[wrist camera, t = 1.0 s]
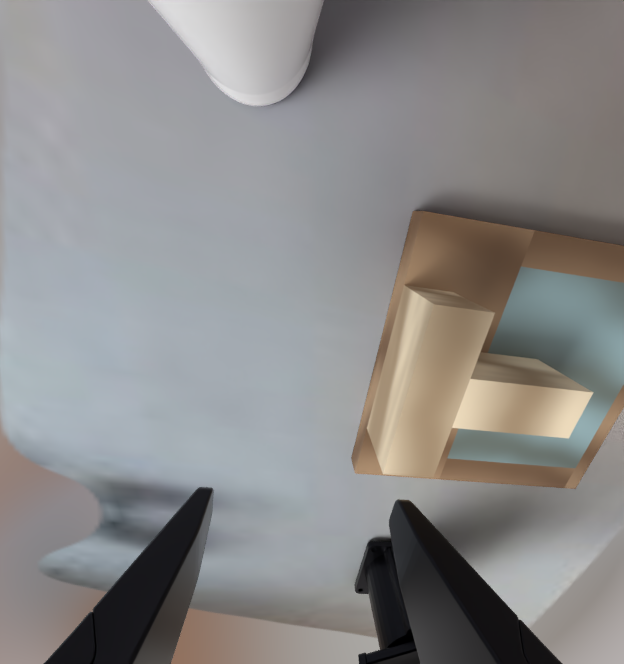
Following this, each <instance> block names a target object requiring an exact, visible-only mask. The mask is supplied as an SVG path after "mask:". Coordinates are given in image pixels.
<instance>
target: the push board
mask: <svg viewBox="0 0 624 664" xmlns="http://www.w3.org/2000/svg"><path fill="white" fill-rule="evenodd" d="M404 285H407V286H413V287H420V288H427V289H434V290H441V291H448V292H454V293H456V294H458V295H460V296H462V297H464V298H466V299H468V300H470V301H472V302H474V303H476V304H478V305H480V306H482V307H484V308H486V309H488V310H490V311H492V312H494V313H495V314H494V317H493V320H492V322H491V325H490V328H489V330H488V333H487V336H486V338H485V341H484V344H483V346H482V349H481V352H483V353H491V354H499V355H507V356H515V357H524V358H532V359H538V360H540V361H541V362H543V363H545V364H546V365H548V366H550V367H551V368H553V369H555V370H557V371H558V372H560V373H562V374H563V375H565V376H567V377H568V378H570V379H572V380H573V381H575V382H577V383H578V384H580V385H582V386H583V387H585V388H587V389H588V390H590V391H592V392H594V393H593V394H592V396H591V398H590V400H589V402H588V404H587V405H586V407H585V409H584V411H583V413H582V415H581V417H580V418H579V420H578V422H577V424H576V426H575V428H574V429H573V431H572V433H571V435H570V437H569V438H558V437H547V436H536V435H525V434H514V433H503V432H492V431H481V430H470V429H459V428H452V429H451V432H450V434H449V437H448V440H447V442H446V445H445V448H444V450H443V453H442V456H441V458H440V461H439V464H438V466H437V469H436V472H435V474H434V477H433V478H429V477H415V476H401V475H387V474H383V473H382V470H381V467H380V464H379V461H378V459H377V456H376V453H375V450H374V447H373V444H372V442H371V439H370V436H369V433H368V430H367V426H368V422H369V418H370V414H371V410H372V407H373V403H374V399H375V395H376V391H377V387H378V384H379V380H380V376H381V372H382V368H383V364H384V360H385V357H386V353H387V349H388V345H389V341H390V337H391V334H392V330H393V326H394V322H395V318H396V314H397V311H398V307H399V303H400V299H401V295H402V291H403V287H404ZM623 408H624V246H622V245H617V244H611V243H605V242H599V241H594V240H588V239H582V238H576V237H570V236H565V235H559V234H553V233H547V232H542V231H536V230H530V229H524V228H519V227H513V226H507V225H501V224H495V223H490V222H484V221H478V220H472V219H467V218H461V217H455V216H449V215H444V214H438V213H432V212H426V211H413V213H412V217H411V221H410V225H409V229H408V233H407V237H406V241H405V245H404V249H403V253H402V257H401V261H400V265H399V269H398V273H397V277H396V281H395V285H394V289H393V293H392V297H391V301H390V305H389V309H388V313H387V317H386V321H385V325H384V329H383V333H382V337H381V341H380V345H379V349H378V353H377V357H376V361H375V365H374V369H373V373H372V378H371V382H370V386H369V390H368V394H367V398H366V402H365V406H364V410H363V414H362V418H361V422H360V426H359V430H358V434H357V438H356V442H355V446H354V450H353V454H352V458H351V459H352V463H353V467H354V471H355V473H358V474H372V475H386V476H400V477H414V478H429V479H443V480H457V481H471V482H485V483H500V484H514V485H528V486H542V487H556V488H571V489H576V487H577V485H578V484H579V482H580V480H581V478H582V477H583V475H584V473H585V472H586V470H587V468H588V467H589V465H590V463H591V462H592V460H593V458H594V457H595V455H596V453H597V451H598V450H599V448H600V446H601V445H602V443H603V441H604V440H605V438H606V436H607V435H608V433H609V431H610V429H611V428H612V426H613V424H614V423H615V421H616V419H617V418H618V416H619V414H620V413H621V411H622V409H623Z"/></svg>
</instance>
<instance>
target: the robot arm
mask: <svg viewBox="0 0 624 664" xmlns="http://www.w3.org/2000/svg"><path fill="white" fill-rule="evenodd" d="M213 493H214V491H213V488H208V487H199V488H198V489H197V490H196V491H195V492H194V493H193V494H192V495H191V496H190V498H189V499H188V500H187V501H186V502H185V503H184V505H183V506H182V507H181V508H180V509H179V510H178V511H177V513H176V514H175V515H174V516H173V517H172V518H171V519H170V521H169V522H168V523H167V524H166V525H165V526H164V528H163V529H162V530H161V531H160V532H159V533H158V534H157V536H156V537H155V538H154V539H153V540H152V541H151V542H150V544H149V545H148V546H147V547H146V548H145V549H144V551H143V552H142V553H141V554H140V555H139V556H138V557H137V559H136V560H135V561H134V562H133V563H132V564H131V566H130V567H129V568H128V569H127V570H126V571H125V572H124V574H123V575H122V576H121V577H120V578H119V579H118V580H117V582H116V583H115V584H114V585H113V586H112V587H111V589H110V590H109V591H108V592H107V593H106V594H105V595H104V597H103V598H102V599H101V600H100V601H99V602H98V604H97V605H96V606H95V607H94V609H93V612H90V613H89V614H88V615H87V616H86V617H85V618H84V619H83V621H82V622H81V623H80V624H79V625H78V626H77V628H76V629H75V630H74V631H73V632H72V633H71V634H70V636H68V638H67V639H66V640H65V641H64V642H63V643H62V644H61V645H60V647H59V648H58V649H57V650H56V651H55V652H54V653H53V654H52V655H51V656H50V658H49V659H48V660H47V661H46V662H45V663H44V664H171V660H172V658H173V654H174V651H175V649H176V645H177V642H178V639H179V636H180V633H181V630H182V627H183V624H184V620H185V618H186V614H187V611H188V608H189V605H190V602H191V599H192V596H193V593H194V590H195V586H196V583H197V580H198V576H199V572H200V567H201V563H202V558H203V554H204V549H205V544H206V540H207V535H208V530H209V526H210V521H211V516H212V509H213ZM389 527H390V533H391V539H392V542H377V541H372V542H369V543H368V544H367V547H366V550H365V553H364V557H363V560H362V563H361V566H360V569H359V573H358V576H357V579H356V582H355V591H356V593H359V594H369V598H370V603H371V608H372V612H373V617H374V622H375V627H376V632H377V637H378V642H379V647H380V650H378V651H375V652H372V653H368V654H366V653H362V654H359V655H358V656H359V664H562V663H561V662H560V661H559V660H558V659H557V658H556V657H555V656H554V655H553V654H552V652H551V651H550V650H549V649H548V648H547V647H546V646H545V645H544V644H543V643H542V642H541V641H540V640H539V639H538V638H537V637H536V636H535V635H534V633H533V632H532V631H531V630H530V629H529V628H528V627H527V626H526V625H525V624H524V623H523V622H522V621H521V620H518V617H517V615H516V614H515V613H514V612H513V611H512V610H511V609H510V608H509V607H508V606H507V604H506V603H505V602H504V601H503V600H502V599H501V598H500V597H499V596H498V595H497V594H496V593H495V592H494V590H493V589H492V588H491V587H490V586H489V585H488V584H487V583H486V582H485V581H484V580H483V579H482V577H481V576H480V575H479V574H478V573H477V572H476V571H475V570H474V569H473V568H472V567H471V566H470V565H469V563H468V562H467V561H466V560H465V559H464V558H463V557H462V556H461V555H460V554H459V553H458V552H457V550H456V549H455V548H454V547H453V546H452V545H451V544H450V543H449V542H448V541H447V540H446V539H445V538H444V536H443V535H442V534H441V533H440V532H439V531H438V530H437V529H436V528H435V527H434V526H433V525H432V523H431V522H430V521H429V520H428V519H427V518H426V517H425V516H424V515H423V514H422V513H421V512H420V511H419V509H418V508H417V507H416V506H415V505H414V504H413V503H412V502H411V501H409V500H396V501H395V504H394V507H393V510H392V513H391V516H390V519H389Z"/></svg>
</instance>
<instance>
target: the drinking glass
mask: <svg viewBox="0 0 624 664" xmlns="http://www.w3.org/2000/svg"><path fill="white" fill-rule="evenodd" d="M147 1H148V2H149V3H150V4H151V5H152V7H153V8H154V9H155V10H156V11H157V12H158V14H159V15H160V16H161V17H162V18H163V19H164V21H165V22H166V23H167V24H168V25H169V26H170V28H171V29H172V30H173V31H174V32H175V33H176V35H177V36H178V37H179V38H180V39H181V41H182V42H183V43H184V44H185V45H186V46H187V48H188V49H189V50H190V51H191V52H192V54H193V55H194V56H195V57H196V58H197V60H198V61H199V62H200V63H201V65H202V67H203V68H204V70H205V72H206V73H207V74H208V76H209V77H210V79H211V80H212V81H213V83H214V84H215V85H216V86H217V87H218V88H219V89H220V90H221V91H222V92H223V93H225V94H226V95H227V96H229V97H230V98H232V99H234V100H235V101H238V102H240V103H243V104H246V105H250V106H267V105H271V104H274V103H277V102H279V101H281V100H283V99H284V98H285V97H287V96H288V95H289V94H290V93H292V91H293V90H294V89H295V88H296V87H297V86H298V84H299V83H300V81H301V80H302V78H303V76H304V74H305V72H306V70H307V67H308V64H309V61H310V57H311V52H312V46H313V38H314V34H315V31H316V27H317V24H318V20H319V17H320V13H321V10H322V7H323V3H324V0H147Z"/></svg>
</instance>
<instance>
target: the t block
mask: <svg viewBox="0 0 624 664" xmlns="http://www.w3.org/2000/svg"><path fill="white" fill-rule="evenodd" d="M494 314H495V313H494V312H492V311H490V310H488V309H486V308H484V307H482V306H480V305H478V304H476V303H474V302H472V301H470V300H468V299H466V298H464V297H462V296H460V295H458V294H456V293H454V292H448V291H441V290H434V289H427V288H420V287H413V286H407V285H404V287H403V291H402V295H401V299H400V303H399V307H398V311H397V314H396V318H395V322H394V326H393V330H392V334H391V337H390V341H389V345H388V349H387V353H386V357H385V360H384V364H383V368H382V372H381V376H380V380H379V384H378V387H377V391H376V395H375V399H374V403H373V407H372V410H371V414H370V418H369V422H368V426H367V430H368V433H369V436H370V439H371V442H372V444H373V447H374V450H375V453H376V456H377V459H378V461H379V464H380V467H381V470H382V473H383V474H387V475H401V476H415V477H429V478H433V477H434V474H435V472H436V469H437V466H438V464H439V461H440V458H441V456H442V453H443V450H444V448H445V445H446V442H447V440H448V437H449V434H450V432H451V429H452V428H459V429H470V430H481V431H492V432H503V433H514V434H525V435H536V436H547V437H558V438H569V437H570V435H571V433H572V431H573V429H574V428H575V426H576V424H577V422H578V420H579V418H580V417H581V415H582V413H583V411H584V409H585V407H586V405H587V404H588V402H589V400H590V398H591V396H592V394H593V393H594V392H592V391H590V390H588V389H587V388H585V387H583V386H582V385H580V384H578V383H577V382H575V381H573V380H572V379H570V378H568V377H567V376H565V375H563V374H562V373H560V372H558V371H557V370H555V369H553V368H551V367H550V366H548V365H546V364H545V363H543V362H541V361H540V360H538V359H532V358H524V357H515V356H507V355H499V354H491V353H483V352H481V349H482V346H483V344H484V341H485V338H486V336H487V333H488V330H489V328H490V325H491V322H492V320H493V317H494Z"/></svg>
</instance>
